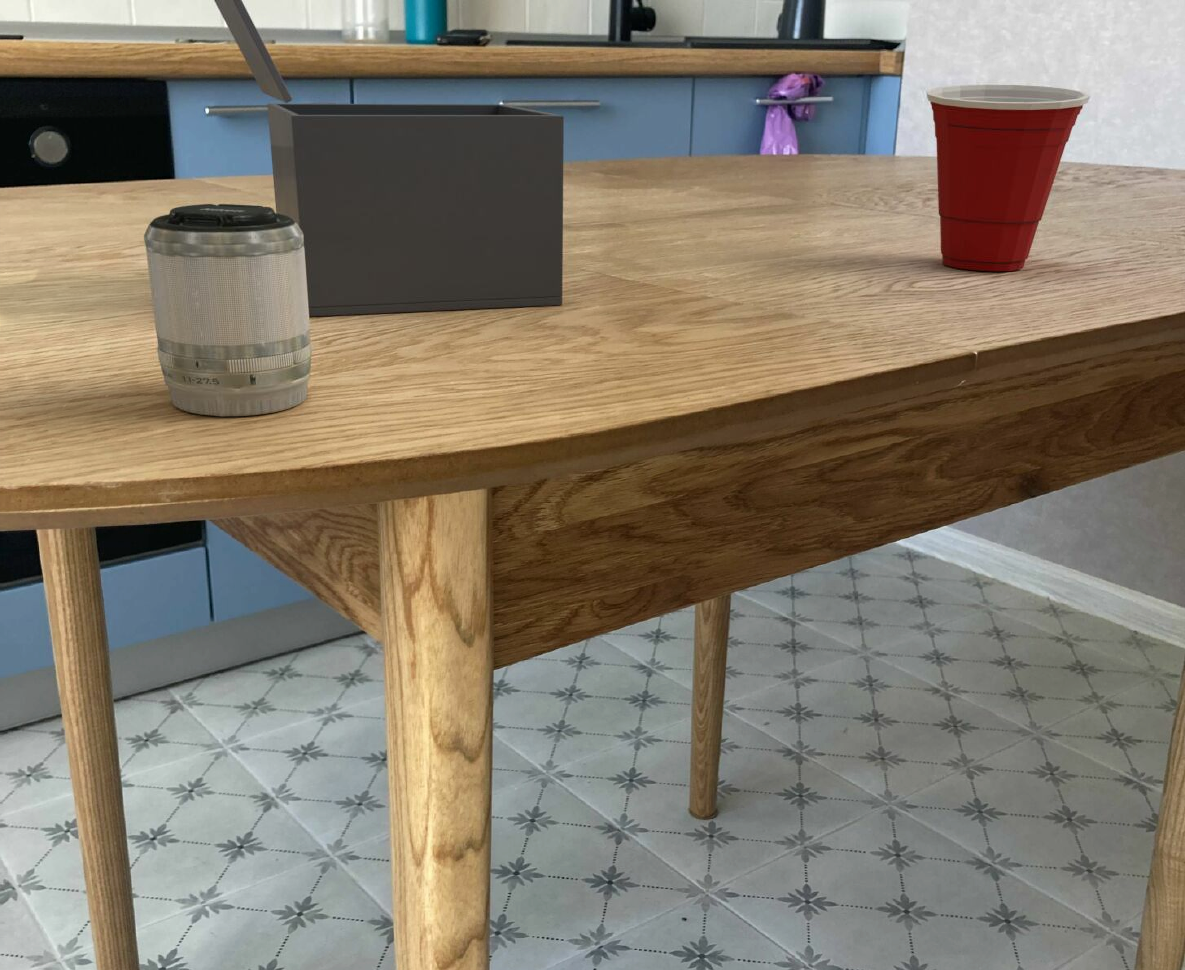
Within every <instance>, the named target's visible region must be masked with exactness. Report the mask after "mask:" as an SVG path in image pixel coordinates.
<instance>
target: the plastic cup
mask: <svg viewBox="0 0 1185 970" xmlns="http://www.w3.org/2000/svg"><path fill="white" fill-rule="evenodd" d="M926 98H927V101H928V102H930V105H931V110H932V120H933V123H934V137H935V139H936V166H937V167H936V168H937V169H936V172H937V174H936V175H937V202H938V203H937V204H938V206H937V207H938V216H939V228H940V231H939V233H940V253H941V257H942V258H941V259H942V264H943V265H945V266H947V267H950V268H957V269H961V270H971V271H979V272H980V271H981V272H1012V271H1019V270H1022V269H1024V266H1025V263H1026V261H1027V260H1028V258H1029V255H1030V251H1031V249H1032V245H1033V243H1034V239H1035V237H1036V233H1037V229H1038V227H1039V223H1040V222H1041V221H1042V218H1043V215H1044V213H1045V210H1046V207H1047V203H1048V200H1049V197H1050V194H1051V191H1052V188H1053V185H1054V182H1055V178H1056V176H1057V173H1058V169H1059V166H1060V164H1061V160H1062V157H1063V154H1064V151H1065V148H1066V144H1067V143H1068V142H1069V140H1070V137H1071V134H1072V130H1073V128H1074V126H1076V122H1077V119H1078V116H1079V115H1080V114H1081V110H1083V107H1084V105H1086V104H1088V103H1089V100H1090V98H1091V95H1090V94H1088V93H1087V92H1086V91H1081V90H1076V89H1070V88H1065V87H1064V88H1063V87H1052V86H1045V85H1022V84H966V85H965V84H964V85H963V84H961V85H951V86H949V85H948V86H941V87H935V88H931V89H928V90H926Z"/></svg>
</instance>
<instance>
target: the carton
mask: <svg viewBox="0 0 1185 970" xmlns="http://www.w3.org/2000/svg"><path fill="white" fill-rule="evenodd" d="M266 105H267V117H268V118H267V119H268V129H269V143H270V154H271V165H272V178H273V190H274V202H275V213H276V214H282V215H286V216H288V217H290V218H291V219H293V220H294V221H295V222H296V223H297V225H298V226H299V228H300V229H301V231H302V232H303V236H304V250H305V265H306V279H307V294H308V308H309V318H310V317H311V318H313V317H332V316H333V317H335V316H354V315H355V316H356V315H374V314H375V315H377V314H396V313H416V312H417V313H419V312H438V311H441V312H442V311H461V310H463V311H464V310H483V309H502V308H505V309H507V308H525V307H547V306H549V307H550V306H562V305H563V277H564V275H563V268H564V267H563V262H564V260H563V258H564V256H563V255H564V253H563V252H564V148H565V147H564V146H565V145H564V140H565V139H564V136H565V135H564V134H565V133H564V132H565V129H564V128H565V125H564V124H565V116H564V115H561V114H557V113H552V112H546V111H540V110H537V109H536V110H535V109H530V108H524V107H519V106H514V105H510V104H503V103H500V104H499V103H498V104H497V103H492V104H491V103H275V102H274V103H270V102H269V103H267V104H266Z"/></svg>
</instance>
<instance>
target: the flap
mask: <svg viewBox="0 0 1185 970" xmlns="http://www.w3.org/2000/svg"><path fill="white" fill-rule="evenodd" d="M213 1H214V3H215V5H216V7H217V9H218V11H219V12H220V15H221V16H222V18H223V21H224V22H225V24H226V26H227V28H228V30H229V32H230V33H231V35H232V37H233V39H234V42H235V43H236V45H237V46H238V48H239V50H240V53H241V54H242V57H243V58H244V60H245V62H246V64H247V66H248V68H249V70H250V72H251V73H252V76H253V77H254V79H255V81H256V83H257V85H258V87H259V89H260V90H261V93H262V94H265V95H267V96H268V97H271V98H274V99H276V100H277V101H281V102H282V103H284V104H289V102H291V101H293V97H292V95H291V93H290V92H289V89H288V87H287V85H286V84H285V82H284V79H283V78H282V76H281V74H280V72H279V69H278V68H277V66H276V64H275V62H274V60H273V58H272V56H271V54H270V52H269V51H268V49H267V46H266V45H265V43H264V41H263V39H262V37H261V35H260V33H259V31H258V29H257V27H256V25H255V23H254V21H253V19H252V17H251V15H250V13H249V12H248V10H247V7H246V6H245V4H244V2H243V0H213Z"/></svg>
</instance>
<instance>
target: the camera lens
mask: <svg viewBox="0 0 1185 970" xmlns="http://www.w3.org/2000/svg"><path fill="white" fill-rule="evenodd" d="M143 241H144V247H145V252H146V253H145V254H146V260H147V267H148V268H147V269H148V276H149V286H150V292H151V302H152V310H153V319H154V326H155V327H154V328H155V334H156V340H157V357H158V361H159V364H160V368H161V372H162V375H163V376H162V377H163V380H164V383H165V385H166V386H167V387H168V390H169V395H170V400H171V403H172V405H173V406H174V407H176V408H177V409H179V410H181V411H184V412H187V413H190V414H197V415H200V416H201V415H202V416H213V417H214V416H215V417H244V416H245V417H246V416H258V415H265V414H266V415H267V414H272V413H276V412H282V411H285V410H289V409H292V408H295V407H296V406H299V405H301V404H303V403H305V401H306V400H307V398H308V384H309V380H310V378H311V368H312V367H311V366H312V365H311V364H312V354H313V349H312V342H311V341H312V340H311V324H310V323H311V322H310V317H309V308H308V294H307V279H306V265H305V250H304V236H303V232H302V231H301V229H300V228H299V226H298V225H297V223H296V222H295V221H294V220H293V219H291V218H290V217H288V216H286V215H282V214H276V211H275V210H274V209H273V208H272V207H270V206H263V205H252V204H234V203H219V204H213V203H203V204H201V203H200V204H191V205H183V206H176V207H174V208H171V209H170V210H169V213H168V214H164V215H160V216H156V217H155V218H154V219H153V220H152V221H150V223H149V224H148V226H147V227H146V230H145V232H144V234H143Z"/></svg>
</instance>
